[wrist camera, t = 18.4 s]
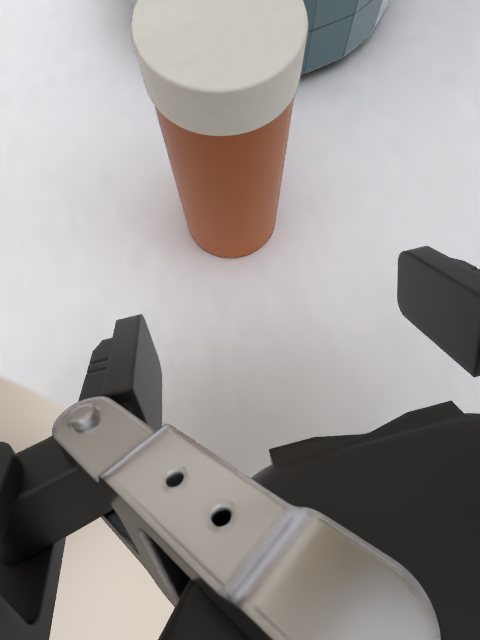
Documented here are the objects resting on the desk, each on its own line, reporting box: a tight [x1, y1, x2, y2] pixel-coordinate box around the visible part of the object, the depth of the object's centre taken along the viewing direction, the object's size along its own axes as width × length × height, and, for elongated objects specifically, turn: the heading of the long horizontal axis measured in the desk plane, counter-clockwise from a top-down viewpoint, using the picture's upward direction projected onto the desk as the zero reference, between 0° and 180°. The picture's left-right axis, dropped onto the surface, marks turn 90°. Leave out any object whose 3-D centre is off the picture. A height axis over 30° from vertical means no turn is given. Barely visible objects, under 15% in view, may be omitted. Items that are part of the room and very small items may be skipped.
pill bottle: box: [131, 0, 308, 258], centre depth 15 cm, size 5×5×10 cm
